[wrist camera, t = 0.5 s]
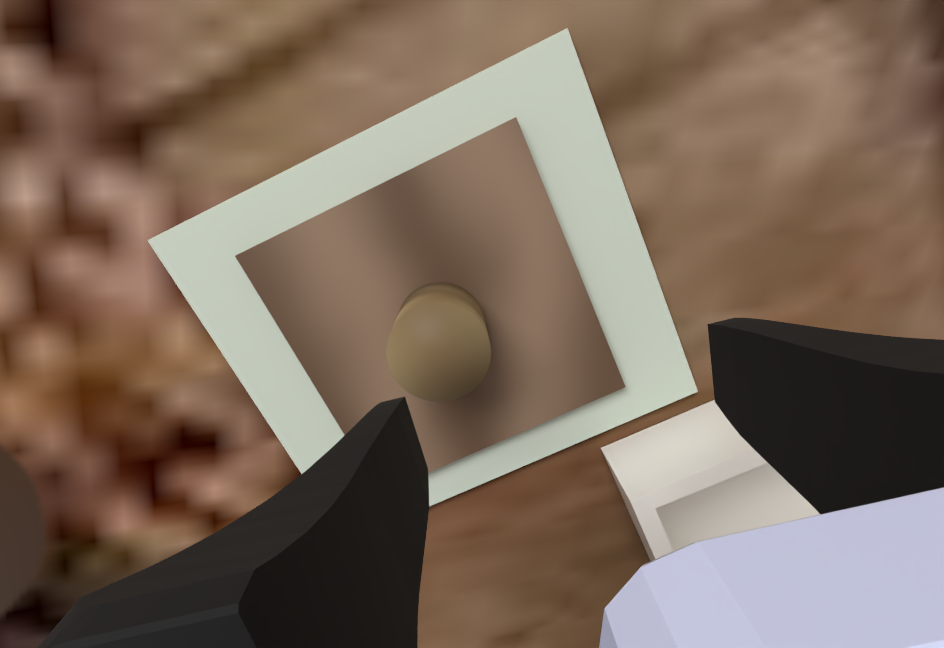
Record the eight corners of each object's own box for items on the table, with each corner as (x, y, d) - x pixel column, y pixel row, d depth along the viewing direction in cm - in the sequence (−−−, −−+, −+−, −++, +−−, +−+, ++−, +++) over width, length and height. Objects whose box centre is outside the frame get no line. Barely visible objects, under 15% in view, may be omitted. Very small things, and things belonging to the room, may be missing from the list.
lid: (382, 485, 23) (367, 549, 19) (240, 253, 20) (188, 271, 16) (621, 381, 22) (658, 425, 18) (514, 118, 19) (530, 102, 15)
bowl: (666, 598, 26) (704, 671, 22) (600, 448, 23) (630, 500, 19) (850, 526, 25) (921, 588, 21) (803, 361, 22) (876, 399, 19)
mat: (348, 536, 24) (346, 541, 24) (153, 239, 20) (147, 240, 19) (693, 388, 23) (697, 391, 22) (564, 31, 18) (567, 28, 18)
